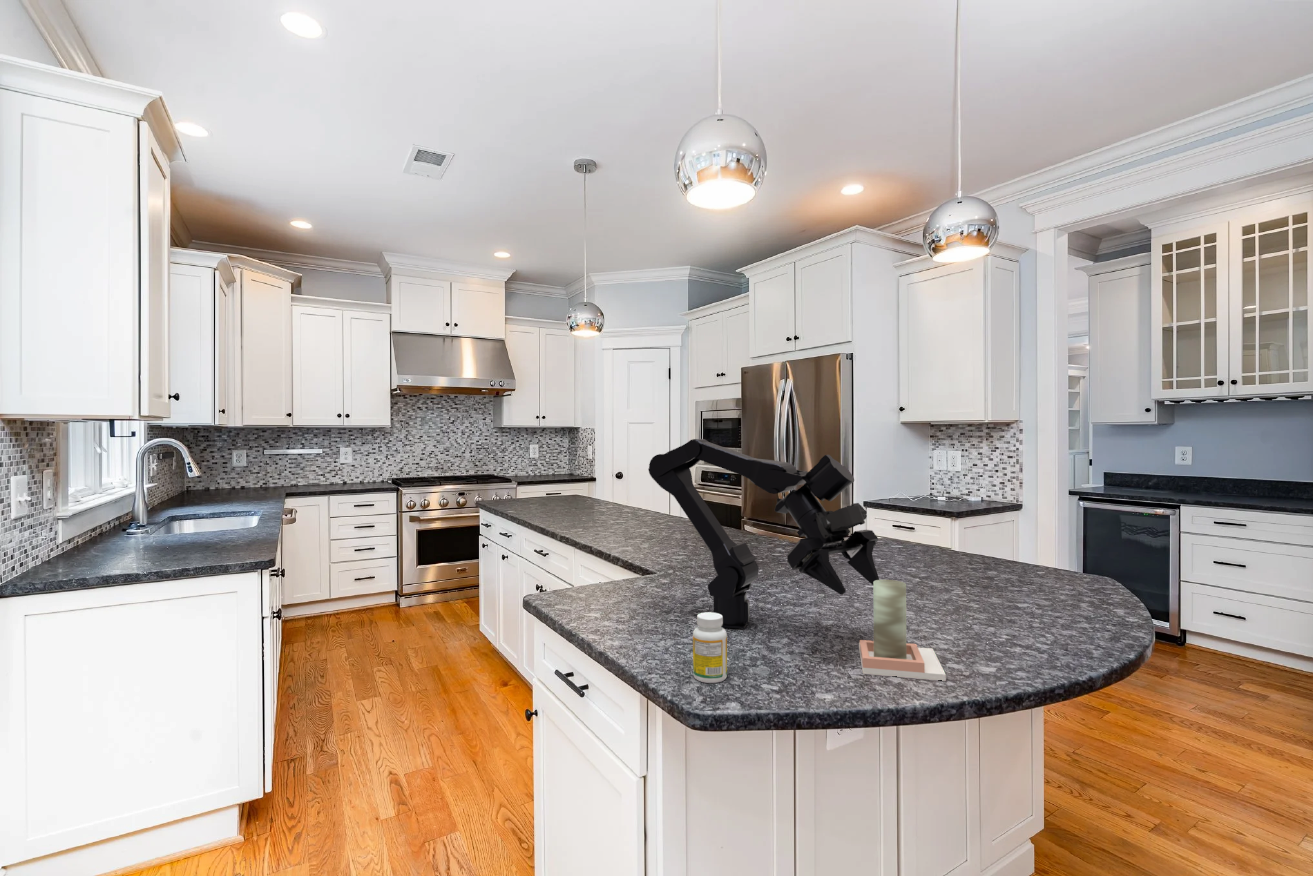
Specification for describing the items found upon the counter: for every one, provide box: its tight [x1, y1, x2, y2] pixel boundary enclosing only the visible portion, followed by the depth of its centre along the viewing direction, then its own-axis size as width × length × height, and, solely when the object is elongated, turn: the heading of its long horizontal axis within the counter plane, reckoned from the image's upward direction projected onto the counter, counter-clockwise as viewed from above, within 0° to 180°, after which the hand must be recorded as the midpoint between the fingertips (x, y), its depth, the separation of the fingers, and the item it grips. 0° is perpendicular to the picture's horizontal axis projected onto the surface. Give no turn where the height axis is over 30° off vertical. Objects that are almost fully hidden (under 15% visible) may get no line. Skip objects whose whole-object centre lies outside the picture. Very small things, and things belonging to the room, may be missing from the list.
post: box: [872, 579, 907, 659], centre depth 101 cm, size 5×5×12 cm
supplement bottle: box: [692, 611, 728, 684], centre depth 97 cm, size 5×5×10 cm
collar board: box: [858, 639, 947, 682], centre depth 102 cm, size 12×12×2 cm
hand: (861, 589), depth 105 cm, fingers open, 9 cm apart
